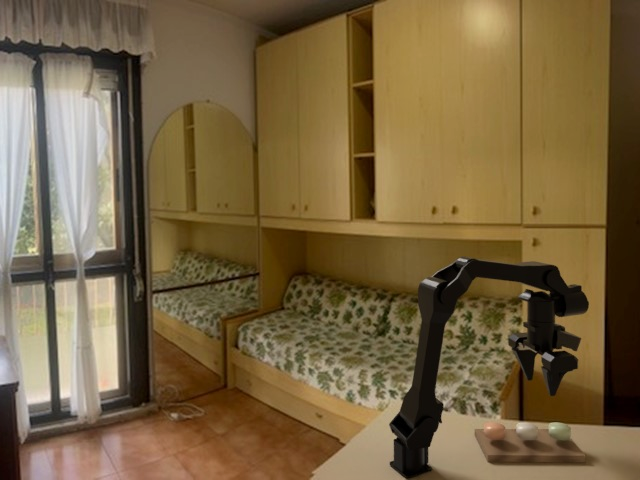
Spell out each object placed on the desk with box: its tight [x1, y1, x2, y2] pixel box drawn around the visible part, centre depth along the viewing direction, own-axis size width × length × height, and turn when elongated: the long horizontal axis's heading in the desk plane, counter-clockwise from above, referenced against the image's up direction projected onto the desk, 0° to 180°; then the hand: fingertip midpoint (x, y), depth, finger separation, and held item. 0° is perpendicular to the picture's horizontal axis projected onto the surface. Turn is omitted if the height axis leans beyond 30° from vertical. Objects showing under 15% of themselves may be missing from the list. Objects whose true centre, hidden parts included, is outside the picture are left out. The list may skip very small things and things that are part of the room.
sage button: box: [548, 421, 572, 440], centre depth 116 cm, size 4×4×2 cm
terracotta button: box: [483, 421, 506, 440], centre depth 117 cm, size 4×4×2 cm
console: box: [473, 428, 586, 463], centre depth 117 cm, size 20×12×2 cm, turn 87°
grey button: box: [515, 422, 539, 440], centre depth 117 cm, size 4×4×2 cm
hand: (540, 387), depth 118 cm, fingers open, 9 cm apart
